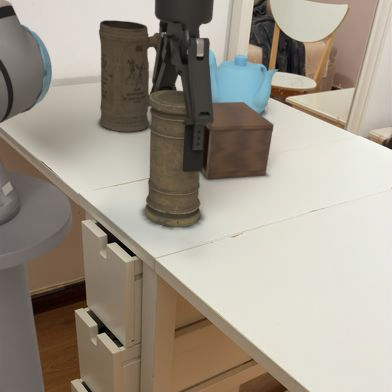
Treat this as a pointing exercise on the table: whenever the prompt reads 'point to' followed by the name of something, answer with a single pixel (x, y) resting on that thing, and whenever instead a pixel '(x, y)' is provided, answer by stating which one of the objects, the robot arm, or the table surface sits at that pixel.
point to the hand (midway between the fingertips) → (177, 153)
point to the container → (170, 164)
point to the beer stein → (125, 75)
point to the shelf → (236, 142)
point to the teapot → (240, 82)
